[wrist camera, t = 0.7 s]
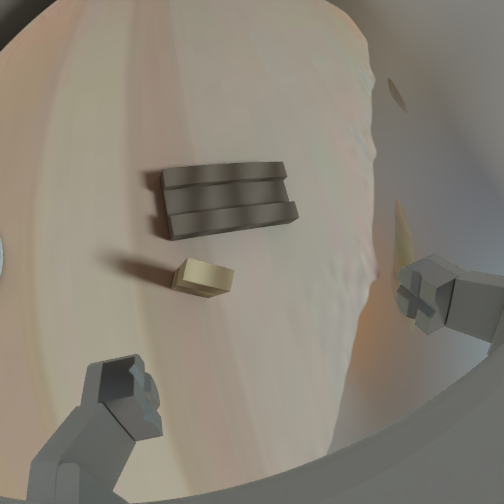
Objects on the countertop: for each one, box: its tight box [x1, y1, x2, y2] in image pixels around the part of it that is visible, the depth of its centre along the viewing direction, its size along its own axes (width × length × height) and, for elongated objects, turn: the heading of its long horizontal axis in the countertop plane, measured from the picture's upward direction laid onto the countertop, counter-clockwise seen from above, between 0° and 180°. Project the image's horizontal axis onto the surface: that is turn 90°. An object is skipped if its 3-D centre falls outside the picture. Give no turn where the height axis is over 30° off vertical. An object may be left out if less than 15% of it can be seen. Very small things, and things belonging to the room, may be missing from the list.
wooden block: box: [171, 258, 234, 298], centre depth 39 cm, size 6×3×10 cm, turn 80°
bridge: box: [160, 162, 299, 241], centre depth 47 cm, size 20×10×3 cm, turn 105°
